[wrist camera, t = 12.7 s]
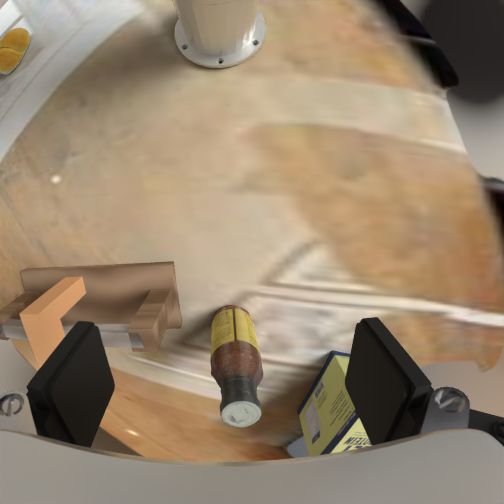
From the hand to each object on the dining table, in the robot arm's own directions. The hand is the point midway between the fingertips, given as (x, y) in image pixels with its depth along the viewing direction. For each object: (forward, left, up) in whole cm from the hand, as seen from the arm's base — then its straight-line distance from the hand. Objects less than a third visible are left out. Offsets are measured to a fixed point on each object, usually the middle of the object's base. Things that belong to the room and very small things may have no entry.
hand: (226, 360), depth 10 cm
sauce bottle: (+16, -1, -32) cm, 36 cm away
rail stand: (+11, -23, -32) cm, 41 cm away
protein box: (+32, +17, -33) cm, 49 cm away
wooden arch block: (+11, -23, -27) cm, 37 cm away
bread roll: (-33, -38, -33) cm, 60 cm away
